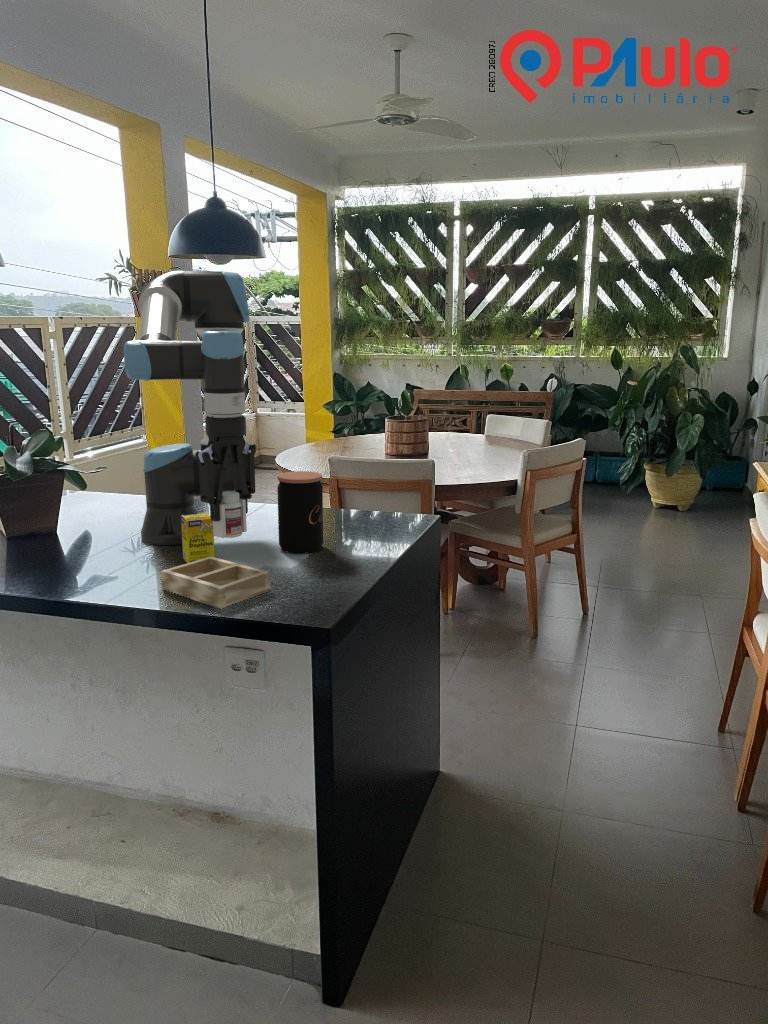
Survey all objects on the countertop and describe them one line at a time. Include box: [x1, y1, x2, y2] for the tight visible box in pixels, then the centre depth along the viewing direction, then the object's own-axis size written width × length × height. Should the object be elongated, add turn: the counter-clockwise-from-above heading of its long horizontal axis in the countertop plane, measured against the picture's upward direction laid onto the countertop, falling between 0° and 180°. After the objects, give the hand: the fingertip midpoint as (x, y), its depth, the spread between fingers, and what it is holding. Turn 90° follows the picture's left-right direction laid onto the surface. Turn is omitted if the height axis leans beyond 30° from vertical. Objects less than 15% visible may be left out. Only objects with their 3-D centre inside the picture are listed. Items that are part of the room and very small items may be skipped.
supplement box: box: [181, 512, 216, 564], centre depth 171 cm, size 6×6×11 cm
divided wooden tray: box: [160, 556, 271, 610], centre depth 154 cm, size 18×13×4 cm
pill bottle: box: [221, 491, 243, 539], centre depth 149 cm, size 5×5×8 cm
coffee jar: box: [276, 470, 324, 555], centre depth 182 cm, size 11×11×18 cm
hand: (230, 533), depth 150 cm, fingers closed on pill bottle, 5 cm apart
